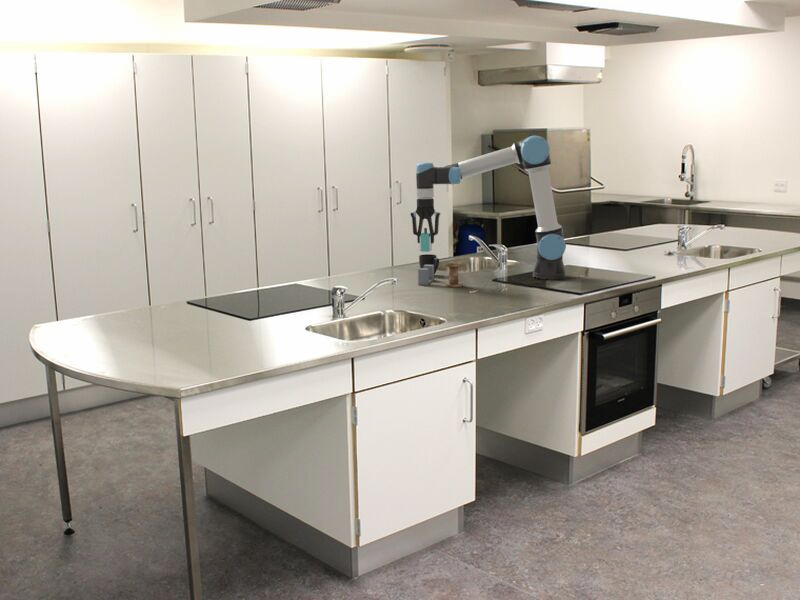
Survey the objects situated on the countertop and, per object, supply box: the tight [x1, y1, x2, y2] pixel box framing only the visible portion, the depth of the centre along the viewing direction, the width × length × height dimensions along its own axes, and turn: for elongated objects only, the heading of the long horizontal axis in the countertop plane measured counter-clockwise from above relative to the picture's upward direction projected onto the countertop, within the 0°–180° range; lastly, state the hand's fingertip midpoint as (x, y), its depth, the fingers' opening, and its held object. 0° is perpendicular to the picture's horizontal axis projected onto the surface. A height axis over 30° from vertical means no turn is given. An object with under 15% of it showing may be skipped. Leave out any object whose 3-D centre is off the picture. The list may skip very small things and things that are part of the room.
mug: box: [418, 253, 440, 275], centre depth 411 cm, size 8×12×10 cm
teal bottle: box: [420, 227, 430, 253], centre depth 391 cm, size 4×4×10 cm
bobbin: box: [444, 261, 464, 288], centre depth 384 cm, size 8×8×10 cm
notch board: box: [417, 265, 435, 286], centre depth 394 cm, size 4×14×7 cm, turn 165°
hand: (425, 250), depth 392 cm, fingers closed on teal bottle, 3 cm apart
